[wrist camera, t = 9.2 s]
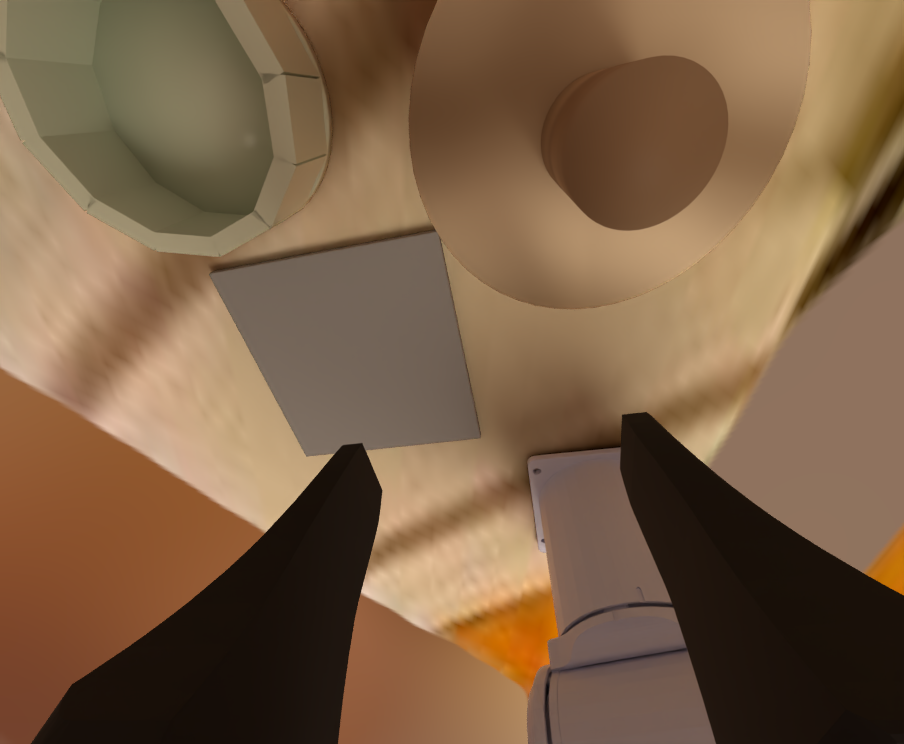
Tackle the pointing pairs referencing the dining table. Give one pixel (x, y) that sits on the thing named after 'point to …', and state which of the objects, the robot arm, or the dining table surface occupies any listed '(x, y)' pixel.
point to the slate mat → (358, 343)
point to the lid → (600, 135)
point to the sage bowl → (170, 113)
